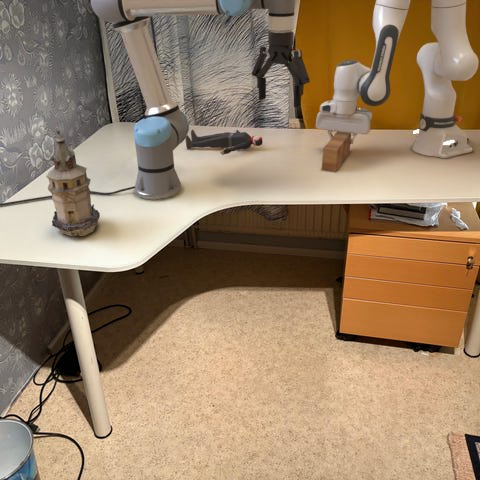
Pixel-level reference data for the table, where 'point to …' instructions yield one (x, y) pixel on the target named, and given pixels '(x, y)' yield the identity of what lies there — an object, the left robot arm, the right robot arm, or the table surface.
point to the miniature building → (70, 193)
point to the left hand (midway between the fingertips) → (279, 102)
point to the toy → (224, 141)
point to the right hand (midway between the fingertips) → (341, 142)
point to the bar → (336, 151)
